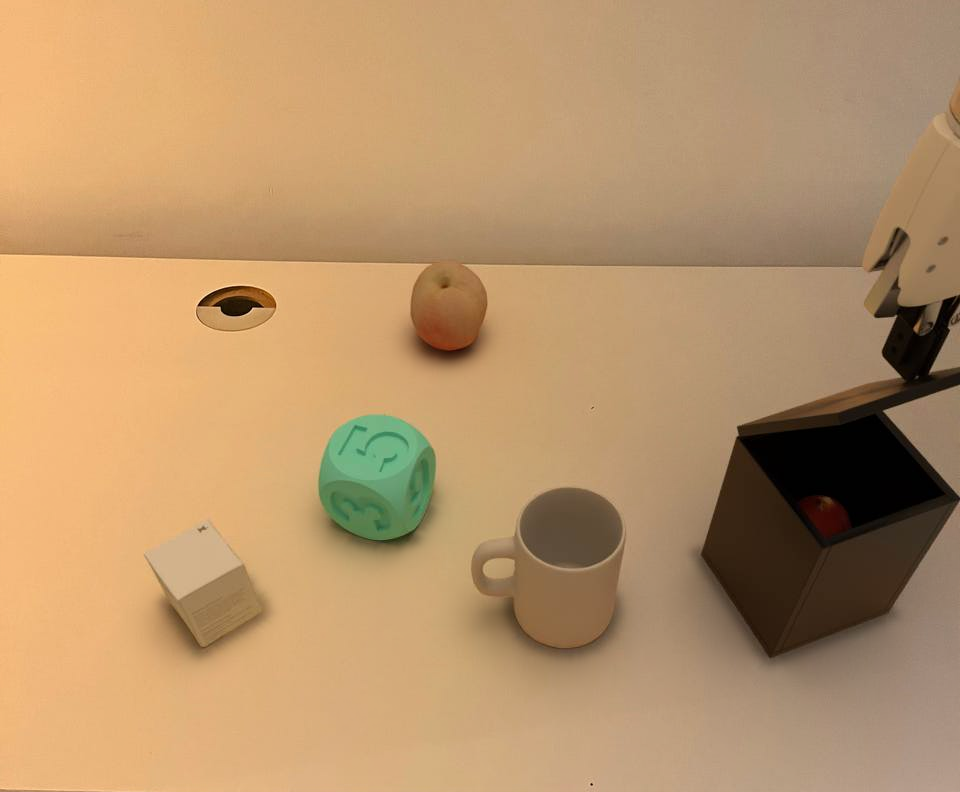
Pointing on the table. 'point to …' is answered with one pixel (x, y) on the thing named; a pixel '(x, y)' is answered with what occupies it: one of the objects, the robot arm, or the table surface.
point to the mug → (560, 565)
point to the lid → (853, 403)
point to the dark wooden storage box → (798, 542)
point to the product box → (204, 582)
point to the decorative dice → (377, 476)
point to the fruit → (448, 305)
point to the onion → (826, 514)
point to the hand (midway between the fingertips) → (903, 364)
